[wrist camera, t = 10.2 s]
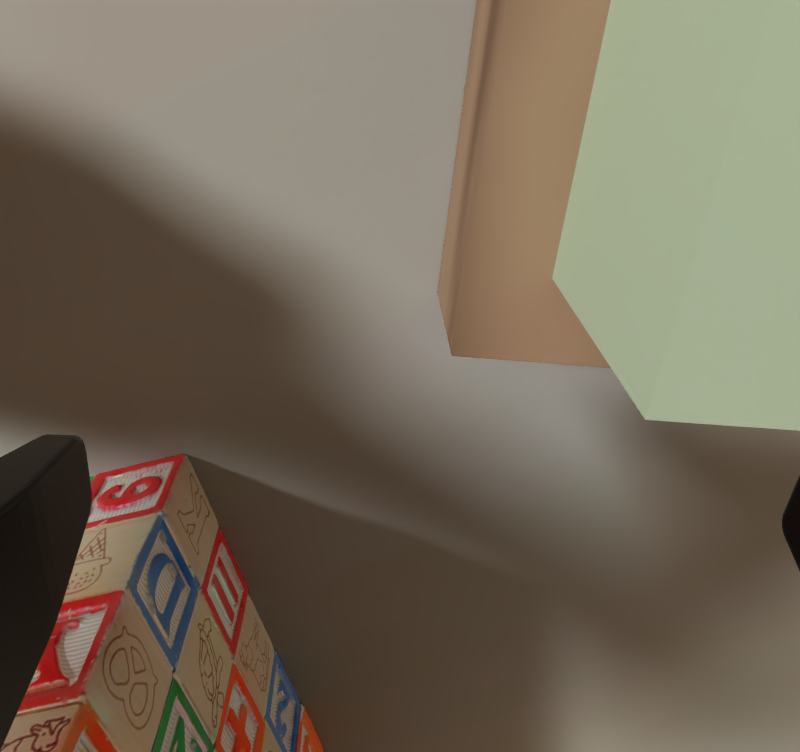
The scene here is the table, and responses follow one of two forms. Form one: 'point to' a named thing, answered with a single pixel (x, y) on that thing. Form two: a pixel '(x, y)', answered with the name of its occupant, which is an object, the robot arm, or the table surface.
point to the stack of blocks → (158, 635)
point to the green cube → (692, 210)
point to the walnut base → (519, 181)
